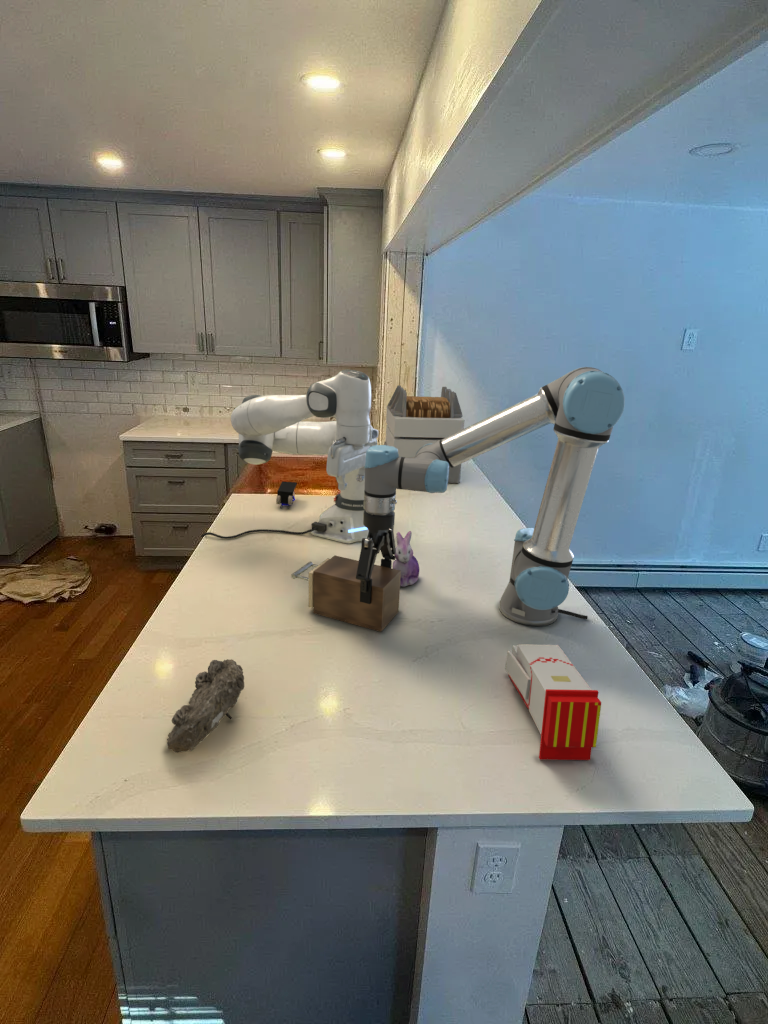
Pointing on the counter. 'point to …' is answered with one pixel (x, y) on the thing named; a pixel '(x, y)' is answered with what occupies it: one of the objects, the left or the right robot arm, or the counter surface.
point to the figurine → (406, 560)
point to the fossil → (206, 705)
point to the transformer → (422, 423)
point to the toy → (556, 700)
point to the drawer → (310, 579)
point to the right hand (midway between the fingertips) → (375, 592)
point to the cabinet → (355, 593)
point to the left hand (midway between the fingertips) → (351, 485)
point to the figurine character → (286, 494)
